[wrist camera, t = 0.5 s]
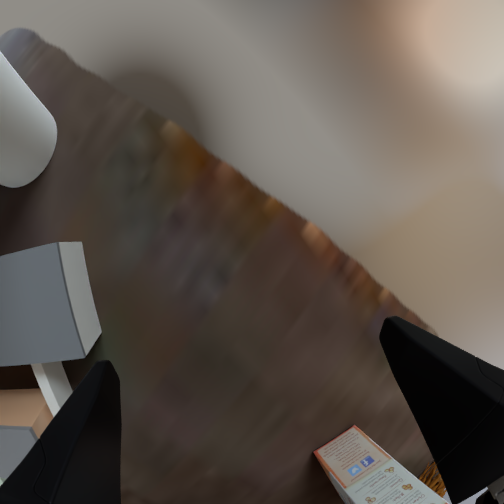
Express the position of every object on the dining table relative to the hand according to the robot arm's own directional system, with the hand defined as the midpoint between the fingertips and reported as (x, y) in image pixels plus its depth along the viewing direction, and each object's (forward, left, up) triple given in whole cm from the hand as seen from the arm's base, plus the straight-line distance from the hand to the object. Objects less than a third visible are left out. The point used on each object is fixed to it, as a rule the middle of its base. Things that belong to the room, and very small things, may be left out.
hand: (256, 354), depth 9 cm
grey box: (-9, +19, -14) cm, 25 cm away
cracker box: (-26, -11, -14) cm, 32 cm away
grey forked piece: (-3, +19, -14) cm, 23 cm away
